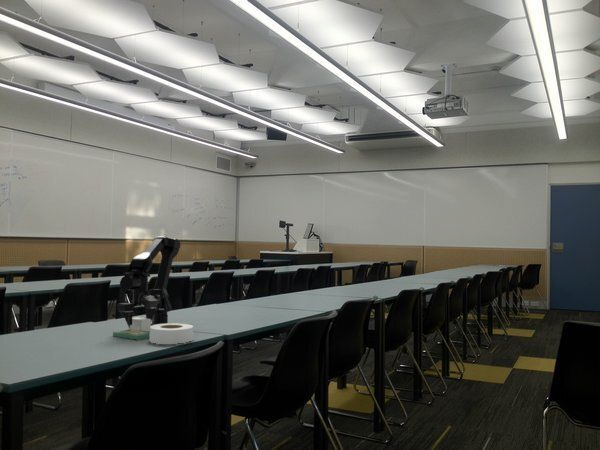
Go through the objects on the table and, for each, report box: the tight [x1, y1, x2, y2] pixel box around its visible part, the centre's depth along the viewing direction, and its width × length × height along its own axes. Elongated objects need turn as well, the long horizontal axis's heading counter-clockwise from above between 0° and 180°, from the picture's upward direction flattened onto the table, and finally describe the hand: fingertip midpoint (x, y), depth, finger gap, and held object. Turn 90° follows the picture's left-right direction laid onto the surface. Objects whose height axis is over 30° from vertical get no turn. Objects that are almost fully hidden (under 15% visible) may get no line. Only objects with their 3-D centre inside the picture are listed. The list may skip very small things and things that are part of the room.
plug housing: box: [128, 317, 152, 332], centre depth 216 cm, size 8×4×5 cm, turn 56°
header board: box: [112, 325, 150, 341], centre depth 204 cm, size 14×9×4 cm, turn 56°
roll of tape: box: [148, 322, 194, 345], centre depth 197 cm, size 16×16×6 cm
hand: (139, 326), depth 216 cm, fingers open, 9 cm apart
